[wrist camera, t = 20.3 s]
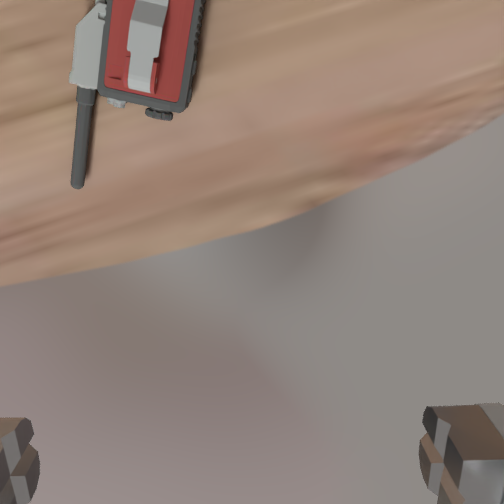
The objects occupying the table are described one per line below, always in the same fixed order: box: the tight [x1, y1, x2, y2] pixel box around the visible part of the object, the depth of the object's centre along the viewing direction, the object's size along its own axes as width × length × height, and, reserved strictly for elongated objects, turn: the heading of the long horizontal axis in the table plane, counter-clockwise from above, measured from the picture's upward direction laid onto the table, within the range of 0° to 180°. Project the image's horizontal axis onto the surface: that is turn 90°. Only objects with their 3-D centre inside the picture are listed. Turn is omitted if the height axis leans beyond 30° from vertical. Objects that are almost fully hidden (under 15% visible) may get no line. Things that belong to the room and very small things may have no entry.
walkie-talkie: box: [69, 0, 206, 189], centre depth 35 cm, size 9×4×20 cm
